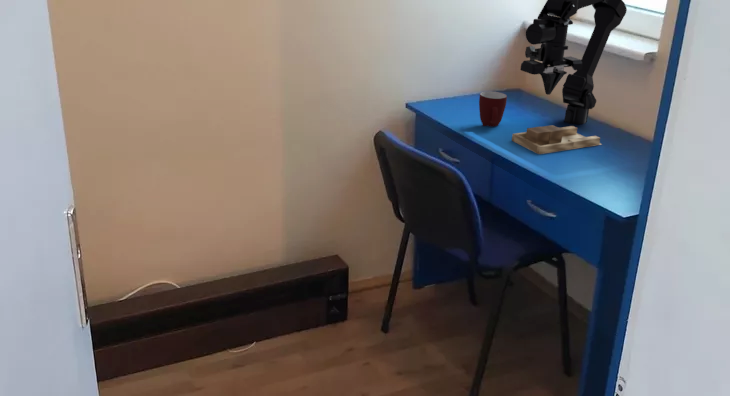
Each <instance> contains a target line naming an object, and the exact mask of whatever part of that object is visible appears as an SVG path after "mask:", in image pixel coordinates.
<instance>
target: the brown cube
mask: <svg viewBox="0 0 730 396" xmlns="http://www.w3.org/2000/svg"><path fill="white" fill-rule="evenodd" d="M541 127H542V128H544V129H546V130H548V131H550V136H549V143H548V144H555V143H561V141H562V135H563V130H562V129H560V128H561V127H558V126H555V125H552V124H551V125H550V124H549V125H545V126H541Z"/></svg>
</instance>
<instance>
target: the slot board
mask: <svg viewBox="0 0 730 396" xmlns="http://www.w3.org/2000/svg"><path fill="white" fill-rule="evenodd" d="M559 128H560V129H562V130H563V135H562V141H561V143H555V144H548V145H541V146H540V145H538V144H536V143H534V142H532V141H530V140H528V139H526V133H527V131H524V132H516V133H512V136H511V137H512V138H511V141H512V142H513V143H516V144H518V145H519V146H522V147H523V148H525V149H528V150H529V151H532V152H533V153H535V154H537V155H545V154H550V153H556V152H561V151H563V152H564V151H569V150H575V149H580V148H581V149H582V148H588V147H595V146H601V145H603V144H602V143H601V137H599V136H597V135H591V136H585V135H582V134H580V133H578V127H576V126H574V125H569V126H563V127H559Z"/></svg>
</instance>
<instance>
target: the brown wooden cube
mask: <svg viewBox="0 0 730 396" xmlns="http://www.w3.org/2000/svg"><path fill="white" fill-rule="evenodd" d="M542 127H543V126H535V127H528V128H526V132H527V133H526V139H528V140H530V141H532V142H534V143H536V144H538V145H540V146H541V145H548V143H549V136H550V131H548V130H546V129H544V128H542Z"/></svg>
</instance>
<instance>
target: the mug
mask: <svg viewBox="0 0 730 396" xmlns="http://www.w3.org/2000/svg"><path fill="white" fill-rule="evenodd" d="M507 101H508V96H507V94H506V93H503V92H497V91H489V90H488V91H482V92H480V93H479V99H478V108H479V119H480V122H481V124H482V127H498V126H499V125H500V123H501V121H502V119H503V116H504V113H505V109H506V106H507Z"/></svg>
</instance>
